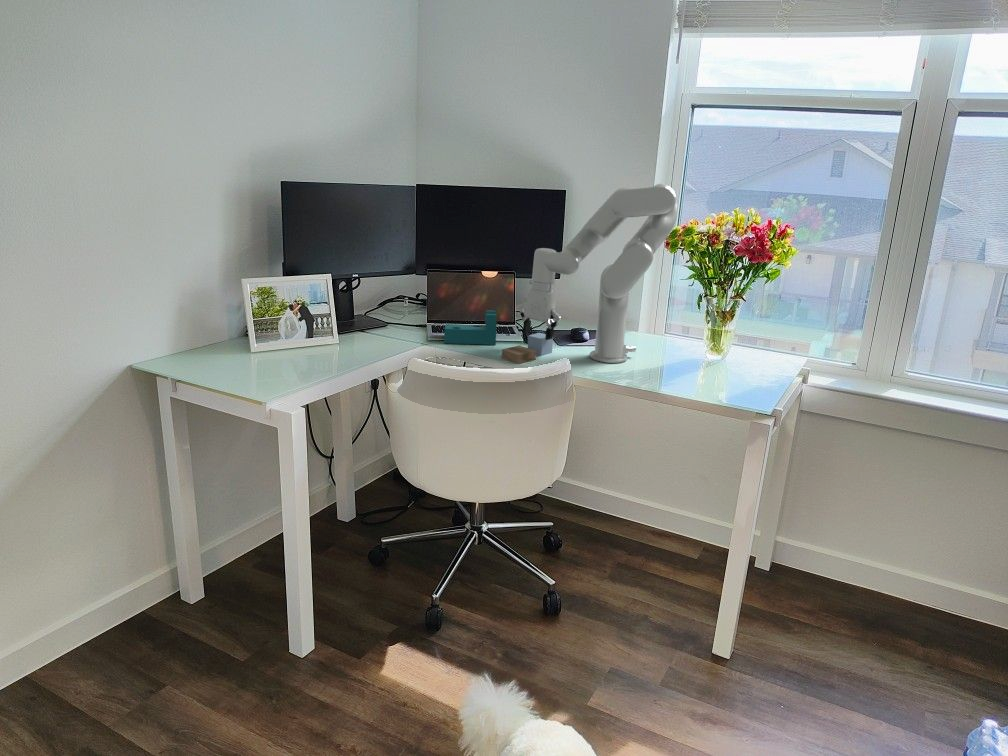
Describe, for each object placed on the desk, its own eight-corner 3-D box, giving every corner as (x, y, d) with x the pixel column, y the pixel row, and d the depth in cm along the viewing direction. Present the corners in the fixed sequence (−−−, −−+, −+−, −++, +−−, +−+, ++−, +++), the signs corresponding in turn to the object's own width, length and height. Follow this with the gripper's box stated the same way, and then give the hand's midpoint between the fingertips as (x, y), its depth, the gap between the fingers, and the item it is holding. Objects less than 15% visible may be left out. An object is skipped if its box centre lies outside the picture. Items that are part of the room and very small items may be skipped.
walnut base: (519, 353, 247) (519, 345, 246) (535, 359, 242) (536, 350, 241) (501, 357, 242) (502, 349, 241) (518, 363, 236) (518, 354, 236)
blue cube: (538, 349, 254) (539, 332, 252) (551, 353, 250) (553, 336, 248) (527, 352, 250) (528, 335, 248) (541, 356, 246) (542, 339, 244)
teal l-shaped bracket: (494, 339, 266) (495, 310, 264) (495, 344, 256) (496, 315, 253) (445, 337, 265) (446, 309, 263) (444, 343, 255) (444, 313, 253)
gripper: (515, 282, 245) (511, 331, 251) (556, 292, 235) (551, 343, 240) (529, 280, 251) (524, 328, 256) (570, 290, 240) (564, 340, 246)
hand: (537, 335), depth 248 cm, fingers open, 9 cm apart
